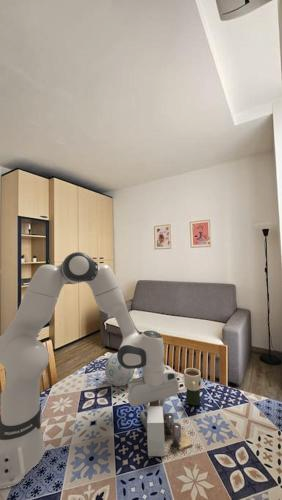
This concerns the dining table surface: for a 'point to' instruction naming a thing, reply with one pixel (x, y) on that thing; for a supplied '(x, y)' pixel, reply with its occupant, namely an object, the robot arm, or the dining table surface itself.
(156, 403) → the dowel
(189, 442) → the dogs
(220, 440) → the dining table surface
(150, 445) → the small box
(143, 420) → the grey partly piece
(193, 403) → the character mug
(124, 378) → the puzzle ball
